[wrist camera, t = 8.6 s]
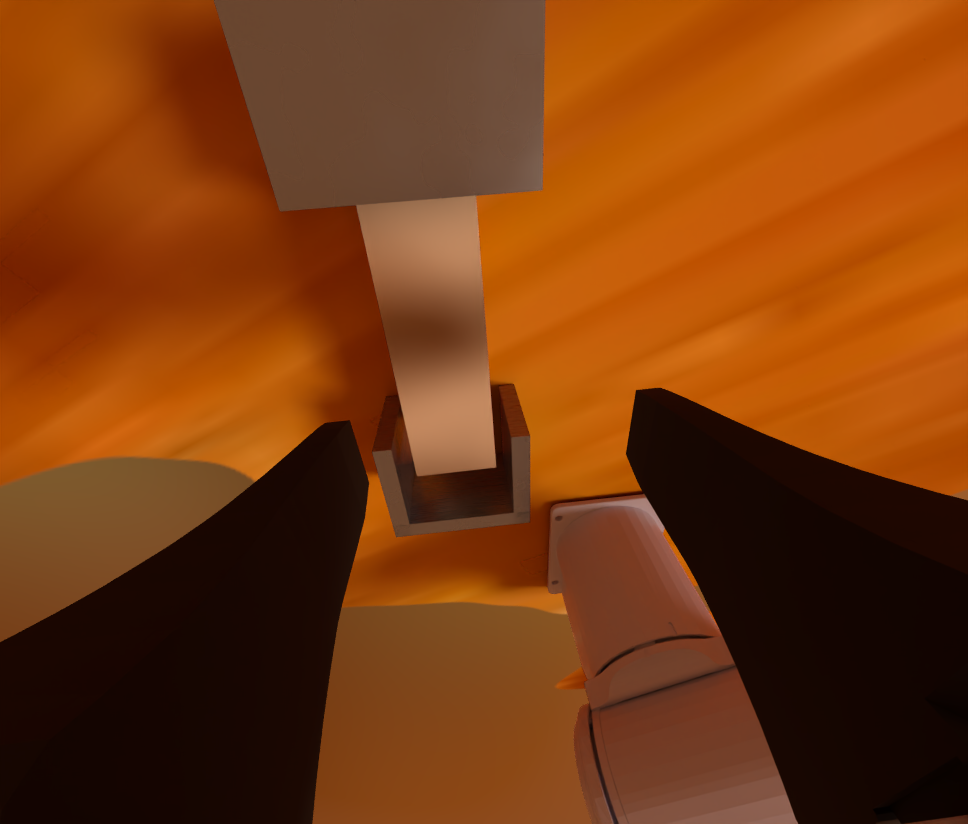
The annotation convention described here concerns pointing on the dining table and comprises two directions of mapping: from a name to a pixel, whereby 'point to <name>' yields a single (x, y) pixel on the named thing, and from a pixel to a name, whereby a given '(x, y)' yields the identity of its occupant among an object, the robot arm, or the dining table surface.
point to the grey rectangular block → (391, 96)
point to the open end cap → (454, 478)
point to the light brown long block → (434, 327)
